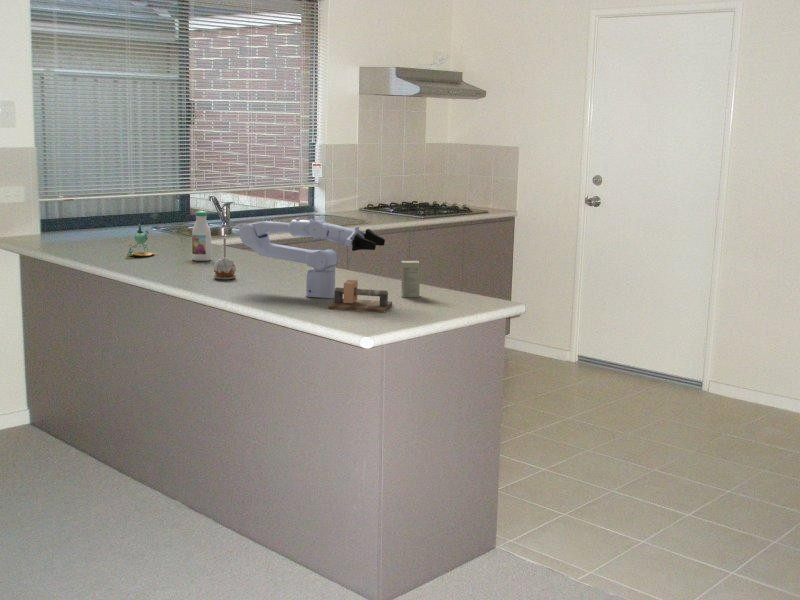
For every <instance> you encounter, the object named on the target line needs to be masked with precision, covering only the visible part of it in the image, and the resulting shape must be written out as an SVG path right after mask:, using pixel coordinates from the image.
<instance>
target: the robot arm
mask: <svg viewBox="0 0 800 600" xmlns="http://www.w3.org/2000/svg"><path fill="white" fill-rule="evenodd" d="M270 233H289V234H290V235H291V236H292V237H300V238H301V237H302V238H311V237H312V239H313V240H316V239H317V240H318V239H324V240H327V241H330V242H333V243H338V244H340V245H341V244H342V245H345V246H347V247H351V250H352V251H353V252H356V251H362V250H363V251H365V250H366V251H375V250H376V248H377V247H376V246H379V247H381V246H385V242H386V239H385V238H383V237H381V236H380V235H378V234H376V233H375V232H373V230H371V229H370V228H367V229H365V231H362V230H361V229H360V227H359V226H358V225H356V226H355V227H354V228H352V227H351V228H350V227H347V226H344V225H343V226H342V225H338V224H334V223H330V222H328V221H326V220H325V219H320V218H319V219H317V220H314V218H309V219H301V217H296V218H295V219H291V221H290V222H284V221H283V222H282V221H271V220H268V221H267V220H264V221H255V222H253V223H248V224H247V223H244V224H242V225H241V226H240V227H239V229H238V237H239V238H240V240H241V243H242V244H243V245H245V246H246V247H249V248H250V249H251V250H253V252H255V253H256V254H258V255H259V256H260V257H266V258H272V259H277V260H284V261H287V262H292V263H293V262H294V263H299V264H300V263H301V264H306V265H307V267H311V268H313V269H309V270H307V273H306V283H305V284H306V289H305V290H306V293H305V294H306V295H305V297H309V298H320V299H321V298H322V299H334V291H335V288H336V266H337V264H338V262H339V255H338V252H337V251H335V250H334V249H331V248H327V249H324V250H323V249H309V248H308V249H307V248H300V247H296V246H290V245H284V244H280V243H279V244H278V243H272V242H271V241H270V237H269V236H270V235H269V234H270Z"/></svg>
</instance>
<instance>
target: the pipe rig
mask: <svg viewBox="0 0 800 600" xmlns="http://www.w3.org/2000/svg"><path fill="white" fill-rule="evenodd" d="M354 295H357V296H368V297H369V296H370V297H379V300H373V299H372V300H371V299H359V298H357V300H356V301H355V302H354V303H344V287H335V291H334V298H333V299H334V301H333V302H332V303H331V304H329V305H328V309H329V310H339V311H341V310H342V311H356V312H371V313H385V312H386V311H388V309H389V308H390V307H392V306H393V301H390V300H389V296H388V295H389V293H388V290H384V289H383V290H382V289H381V290H380V289H371V288H370V289H367V288H365V289H364V288H358V289H354Z"/></svg>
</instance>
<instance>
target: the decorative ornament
mask: <svg viewBox="0 0 800 600" xmlns="http://www.w3.org/2000/svg"><path fill="white" fill-rule="evenodd" d="M226 240H227V239H226V238H225V237H224V238H223V257H220V258H219V259H217V260H216V261H215V263H214V264H213V273H215V275H213V278H215V279H218V280H224V281H226V280H231V279H235V278H237V275H236V274H235V272H237V269H236V268H237V267H236V264H235V263H234V260H232V259H231V258H230V257H227V255H226V254H227V249H226V248H227V243H226V242H227V241H226Z"/></svg>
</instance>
